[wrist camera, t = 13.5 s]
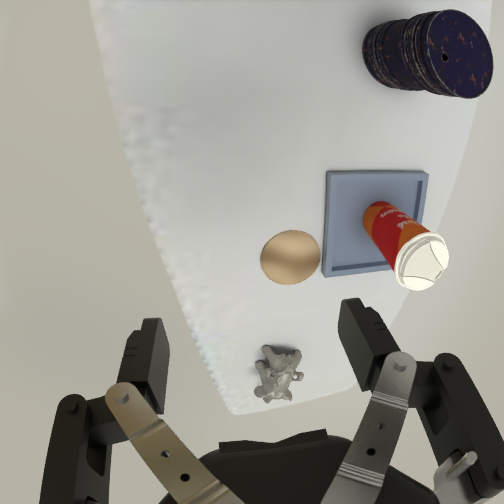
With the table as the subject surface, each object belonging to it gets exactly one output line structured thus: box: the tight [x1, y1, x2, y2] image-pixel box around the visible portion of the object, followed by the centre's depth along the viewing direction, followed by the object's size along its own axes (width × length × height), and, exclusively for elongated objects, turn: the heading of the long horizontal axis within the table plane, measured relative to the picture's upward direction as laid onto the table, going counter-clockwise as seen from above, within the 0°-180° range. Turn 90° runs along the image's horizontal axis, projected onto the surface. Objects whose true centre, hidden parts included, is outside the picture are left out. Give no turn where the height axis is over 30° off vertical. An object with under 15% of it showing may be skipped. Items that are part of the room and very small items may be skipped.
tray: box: [322, 170, 429, 278], centre depth 45 cm, size 16×16×2 cm
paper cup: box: [363, 201, 449, 290], centre depth 39 cm, size 8×8×14 cm
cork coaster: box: [261, 231, 320, 285], centre depth 48 cm, size 9×9×1 cm
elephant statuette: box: [254, 346, 304, 403], centre depth 56 cm, size 9×12×8 cm
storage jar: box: [362, 9, 493, 99], centre depth 28 cm, size 10×10×15 cm
